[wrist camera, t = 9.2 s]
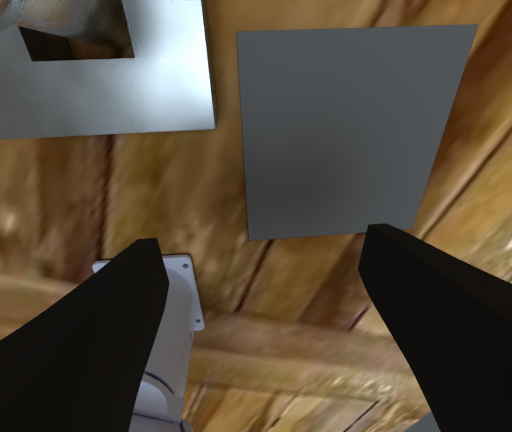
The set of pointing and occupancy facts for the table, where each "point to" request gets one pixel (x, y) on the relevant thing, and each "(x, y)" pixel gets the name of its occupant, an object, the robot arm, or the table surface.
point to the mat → (344, 124)
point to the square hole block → (112, 78)
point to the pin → (70, 19)
